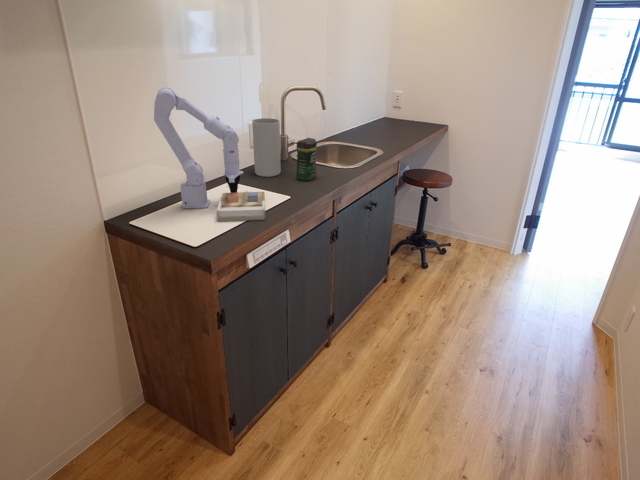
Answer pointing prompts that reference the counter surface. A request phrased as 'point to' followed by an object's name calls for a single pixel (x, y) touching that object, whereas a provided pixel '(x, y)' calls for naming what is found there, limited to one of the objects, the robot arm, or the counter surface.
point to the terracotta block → (233, 197)
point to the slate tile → (252, 196)
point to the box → (241, 213)
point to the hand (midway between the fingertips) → (234, 194)
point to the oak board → (242, 200)
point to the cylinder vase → (266, 146)
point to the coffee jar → (306, 159)
